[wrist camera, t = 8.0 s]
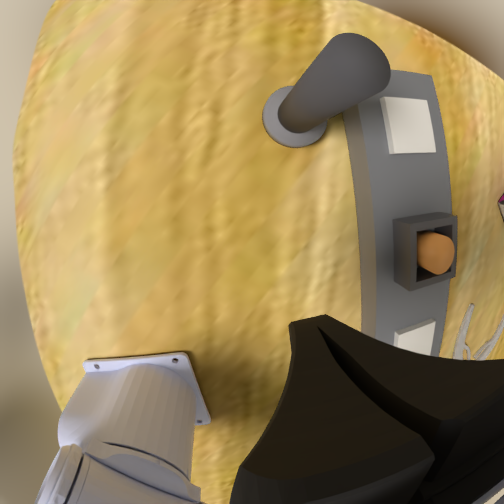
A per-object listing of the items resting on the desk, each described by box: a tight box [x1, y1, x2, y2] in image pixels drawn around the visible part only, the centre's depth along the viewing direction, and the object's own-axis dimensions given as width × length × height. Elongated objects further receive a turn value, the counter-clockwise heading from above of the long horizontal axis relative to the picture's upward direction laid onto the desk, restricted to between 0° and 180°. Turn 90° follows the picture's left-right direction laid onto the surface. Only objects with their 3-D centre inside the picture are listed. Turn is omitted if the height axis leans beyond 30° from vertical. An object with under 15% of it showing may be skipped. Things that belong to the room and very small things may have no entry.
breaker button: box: [417, 230, 455, 275], centre depth 16 cm, size 2×2×2 cm
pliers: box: [452, 304, 504, 360], centre depth 24 cm, size 10×2×15 cm
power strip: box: [342, 70, 457, 357], centre depth 17 cm, size 7×24×4 cm, turn 9°
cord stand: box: [262, 33, 391, 148], centre depth 12 cm, size 4×4×10 cm
